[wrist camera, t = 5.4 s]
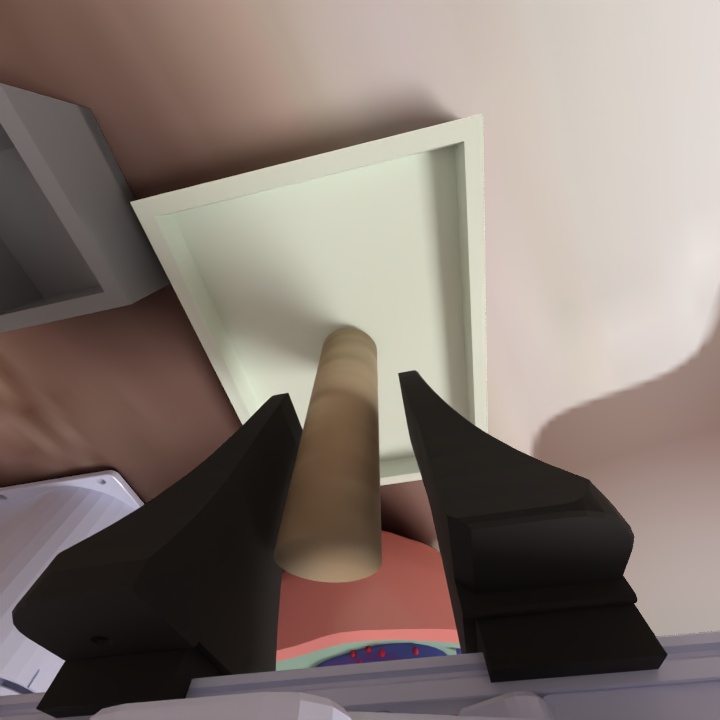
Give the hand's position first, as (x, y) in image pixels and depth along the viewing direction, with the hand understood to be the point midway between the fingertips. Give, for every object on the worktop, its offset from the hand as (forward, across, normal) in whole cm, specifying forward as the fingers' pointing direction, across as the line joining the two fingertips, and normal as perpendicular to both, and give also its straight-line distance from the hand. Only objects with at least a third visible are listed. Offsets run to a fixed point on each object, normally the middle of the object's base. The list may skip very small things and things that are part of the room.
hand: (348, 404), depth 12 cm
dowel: (+4, 0, 0) cm, 4 cm away
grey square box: (+5, +10, -8) cm, 14 cm away
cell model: (+5, +2, +19) cm, 20 cm away
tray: (+5, 0, 0) cm, 5 cm away
